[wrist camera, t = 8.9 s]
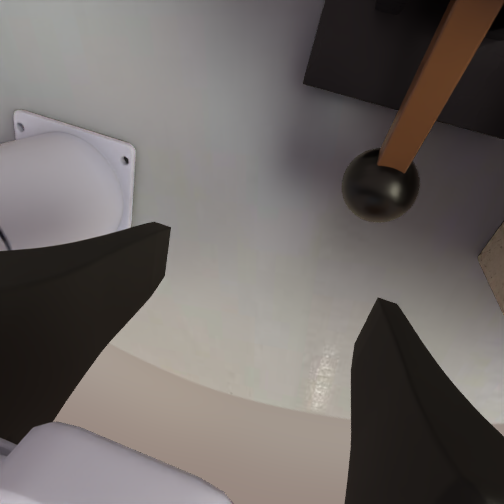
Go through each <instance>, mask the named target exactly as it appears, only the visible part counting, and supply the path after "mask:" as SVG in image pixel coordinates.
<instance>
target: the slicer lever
mask: <svg viewBox="0 0 504 504" xmlns="http://www.w3.org/2000/svg"><path fill="white" fill-rule="evenodd" d="M503 4H504V0H450V2H449V4H448V6H447V9H446V11H445V13H444V15H443V17H442V19H441V21H440V23H439V25H438V28H437V30H436V32H435V34H434V36H433V38H432V40H431V42H430V45H429V47H428V49H427V51H426V53H425V55H424V57H423V59H422V61H421V64H420V66H419V68H418V70H417V72H416V74H415V76H414V78H413V81H412V83H411V85H410V87H409V89H408V91H407V93H406V95H405V98H404V100H403V102H402V104H401V106H400V108H399V110H398V112H397V114H396V117H395V119H394V121H393V123H392V125H391V127H390V129H389V131H388V134H387V136H386V138H385V140H384V142H383V144H382V146H381V148H374V149H370V150H368V151H365V152H363V153H362V154H360V155H358V156H357V157H356V158H355V159H354V160H353V161H352V162H351V163H350V164H349V166H348V167H347V169H346V171H345V173H344V176H343V180H342V194H343V198H344V201H345V203H346V205H347V207H348V208H349V209H350V210H351V211H352V212H353V213H354V214H355V215H356V216H358V217H359V218H361V219H363V220H366V221H370V222H377V223H381V222H388V221H391V220H394V219H396V218H398V217H400V216H402V215H403V214H404V213H406V212H407V211H408V210H409V209H410V208H411V206H412V205H413V204H414V202H415V200H416V198H417V196H418V193H419V188H420V178H419V173H418V170H417V168H416V166H415V164H414V163H413V159H414V157H415V156H416V154H417V152H418V150H419V149H420V147H421V145H422V144H423V142H424V140H425V138H426V137H427V135H428V133H429V132H430V130H431V128H432V126H433V125H434V123H435V121H436V120H437V118H438V116H439V114H440V113H441V111H442V109H443V108H444V106H445V104H446V102H447V101H448V99H449V97H450V95H451V94H452V92H453V90H454V89H455V87H456V85H457V83H458V82H459V80H460V78H461V77H462V75H463V73H464V71H465V70H466V68H467V66H468V65H469V63H470V61H471V59H472V58H473V56H474V54H475V53H476V51H477V49H478V47H479V46H480V44H481V42H482V41H483V39H484V37H485V35H486V34H487V32H488V30H489V28H490V27H491V25H492V23H493V22H494V20H495V18H496V16H497V15H498V13H499V11H500V10H501V8H502V6H503Z"/></svg>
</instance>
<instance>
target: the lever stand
mask: <svg viewBox="0 0 504 504" xmlns="http://www.w3.org/2000/svg"><path fill="white" fill-rule="evenodd" d="M449 2H450V0H325V3H324V7H323V10H322V14H321V18H320V22H319V25H318V29H317V33H316V36H315V40H314V44H313V47H312V51H311V55H310V58H309V62H308V66H307V70H306V73H305V77H304V81H303V84H305V85H309V86H313V87H316V88H320V89H323V90H327V91H331V92H334V93H338V94H341V95H345V96H349V97H352V98H356V99H360V100H363V101H367V102H370V103H374V104H378V105H381V106H385V107H388V108H392V109H396V110H399V108H400V106H401V104H402V102H403V100H404V98H405V95H406V93H407V91H408V89H409V87H410V85H411V83H412V81H413V78H414V76H415V74H416V72H417V70H418V68H419V66H420V64H421V61H422V59H423V57H424V55H425V53H426V51H427V49H428V47H429V45H430V42H431V40H432V38H433V36H434V34H435V32H436V30H437V28H438V25H439V23H440V21H441V19H442V17H443V15H444V13H445V11H446V9H447V6H448V4H449ZM436 121H439V122H443V123H446V124H450V125H454V126H457V127H461V128H464V129H468V130H472V131H475V132H479V133H482V134H486V135H490V136H493V137H497V138H501V139H504V4H503V6H502V8H501V10H500V11H499V13H498V15H497V16H496V18H495V20H494V22H493V23H492V25H491V27H490V28H489V30H488V32H487V34H486V35H485V37H484V39H483V41H482V42H481V44H480V46H479V47H478V49H477V51H476V53H475V54H474V56H473V58H472V59H471V61H470V63H469V65H468V66H467V68H466V70H465V71H464V73H463V75H462V77H461V78H460V80H459V82H458V83H457V85H456V87H455V89H454V90H453V92H452V94H451V95H450V97H449V99H448V101H447V102H446V104H445V106H444V108H443V109H442V111H441V113H440V114H439V116H438V118H437V120H436Z"/></svg>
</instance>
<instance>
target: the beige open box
mask: <svg viewBox="0 0 504 504" xmlns="http://www.w3.org/2000/svg"><path fill="white" fill-rule="evenodd" d="M478 261H479V263H480V266H481V268H482V270H483V272H484V274H485V276H486V278H487V281H488V283H489V285H490V287H491V289H492V291H493V294H494V296H495V298H496V300H497V302H498V304H499V306H500V309H501V311H502V313H503V315H504V222H503V223H502V224H501V226H500V227H499V229H498V230H497V231H496V233H495V234H494V236H493V237H492V238H491V240H490V241H489V242H488V244H487V245H486V247H485V248H484V249H483V251H482V252H481V254H480V255H479V256H478Z"/></svg>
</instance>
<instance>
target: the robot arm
mask: <svg viewBox="0 0 504 504" xmlns="http://www.w3.org/2000/svg"><path fill="white" fill-rule="evenodd" d="M13 121H14V131H15V141H11V142H6V143H2V144H0V504H233V502H232V501H231V500H230V499H229V498H228V496H227V495H226V494H225V493H224V492H223V491H222V490H220V489H218V488H216V487H215V486H213V485H212V484H210V483H208V482H206V481H205V480H203V479H202V478H200V477H198V476H195V475H193V474H191V473H188V472H186V471H183V470H181V469H179V468H176V467H174V466H172V465H169V464H167V463H164V462H162V461H160V460H157V459H155V458H153V457H150V456H148V455H145V454H143V453H141V452H138V451H136V450H134V449H131V448H129V447H126V446H124V445H121V444H119V443H117V442H114V441H112V440H110V439H107V438H105V437H102V436H100V435H98V434H95V433H93V432H91V431H88V430H86V429H83V428H81V427H77V426H74V425H69V424H65V423H61V422H53V420H54V419H55V417H56V416H57V414H58V413H59V411H60V410H61V408H62V407H63V405H64V404H65V402H66V401H67V399H68V398H69V396H70V395H71V394H72V392H73V391H74V389H75V388H76V386H77V385H78V383H79V382H80V381H81V379H82V378H83V376H84V375H85V373H86V372H87V371H88V369H89V368H90V367H91V365H92V364H93V363H94V361H95V360H96V358H97V357H98V356H99V354H100V353H101V352H102V350H103V349H104V348H105V347H106V346H107V344H108V343H109V342H110V341H111V340H112V339H113V338H114V337H115V336H116V334H117V333H118V332H119V331H120V330H121V329H122V328H123V327H124V326H125V325H126V324H127V322H128V321H129V320H130V319H131V318H132V317H133V316H134V315H135V314H136V313H137V312H138V310H139V309H140V308H141V307H142V306H143V305H144V304H145V303H146V302H147V300H148V299H149V298H150V297H151V296H152V294H153V293H154V291H155V290H156V288H157V287H158V285H159V284H160V282H161V281H162V279H163V278H164V276H165V270H166V262H167V254H168V246H169V238H170V230H171V227H168V226H165V225H162V224H159V223H156V222H151V223H147V224H142V225H139V226H135V227H131V222H132V207H133V191H134V175H135V159H136V151H135V148H134V147H133V145H132V144H130V143H128V142H124V141H121V140H118V139H115V138H112V137H108V136H105V135H102V134H99V133H96V132H93V131H89V130H86V129H83V128H80V127H77V126H73V125H70V124H67V123H64V122H61V121H57V120H54V119H51V118H48V117H45V116H42V115H38V114H35V113H32V112H29V111H26V110H16V111H14V113H13ZM22 125H23V126H24V129H23V128H22ZM124 157H126V158H127V159H128V163H126V162H125V160H124ZM345 504H504V436H502V434H501V433H500V432H498V431H497V430H496V429H495V428H494V427H493V426H492V425H491V424H490V423H489V422H488V421H487V420H486V419H485V418H484V417H483V416H482V415H481V414H480V413H479V412H478V411H477V410H476V409H475V408H474V407H473V405H472V404H471V403H470V402H469V401H468V400H467V399H466V398H465V396H464V395H463V394H462V393H461V392H460V391H459V390H458V389H457V387H456V386H455V385H454V384H453V383H452V381H451V380H450V379H449V378H448V377H447V375H446V374H445V373H444V371H443V370H442V369H441V367H440V366H439V365H438V364H437V362H436V361H435V360H434V358H433V357H432V355H431V354H430V353H429V351H428V350H427V348H426V347H425V345H424V344H423V342H422V341H421V339H420V338H419V336H418V335H417V333H416V332H415V330H414V329H413V327H412V326H411V324H410V323H409V321H408V319H407V318H406V316H405V315H404V313H403V312H402V310H401V309H400V307H399V306H398V305H397V304H396V303H393V302H390V301H387V300H384V299H381V298H377V300H376V302H375V304H374V306H373V308H372V310H371V312H370V314H369V316H368V318H367V320H366V322H365V324H364V326H363V328H362V330H361V332H360V334H359V336H358V338H357V340H356V342H355V345H354V352H353V359H352V367H351V451H350V461H349V471H348V481H347V489H346V497H345Z"/></svg>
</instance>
